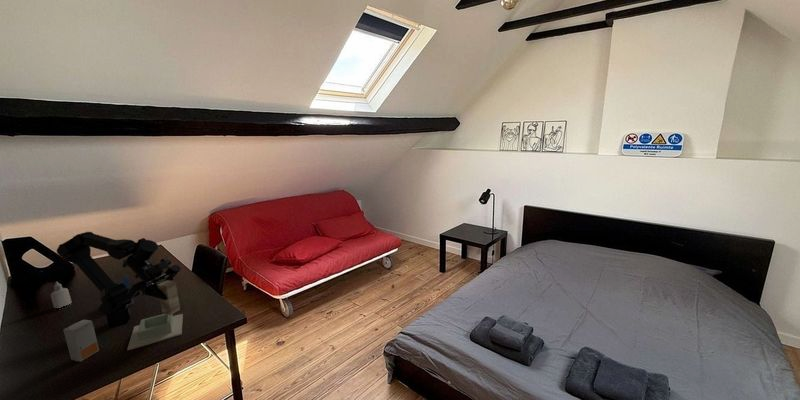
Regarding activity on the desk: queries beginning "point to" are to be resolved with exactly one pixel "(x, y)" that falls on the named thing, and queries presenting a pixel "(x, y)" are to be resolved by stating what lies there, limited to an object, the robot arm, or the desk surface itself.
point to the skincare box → (81, 340)
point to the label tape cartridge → (127, 287)
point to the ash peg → (169, 297)
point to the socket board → (155, 330)
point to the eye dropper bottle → (60, 296)
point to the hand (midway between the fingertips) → (171, 296)
